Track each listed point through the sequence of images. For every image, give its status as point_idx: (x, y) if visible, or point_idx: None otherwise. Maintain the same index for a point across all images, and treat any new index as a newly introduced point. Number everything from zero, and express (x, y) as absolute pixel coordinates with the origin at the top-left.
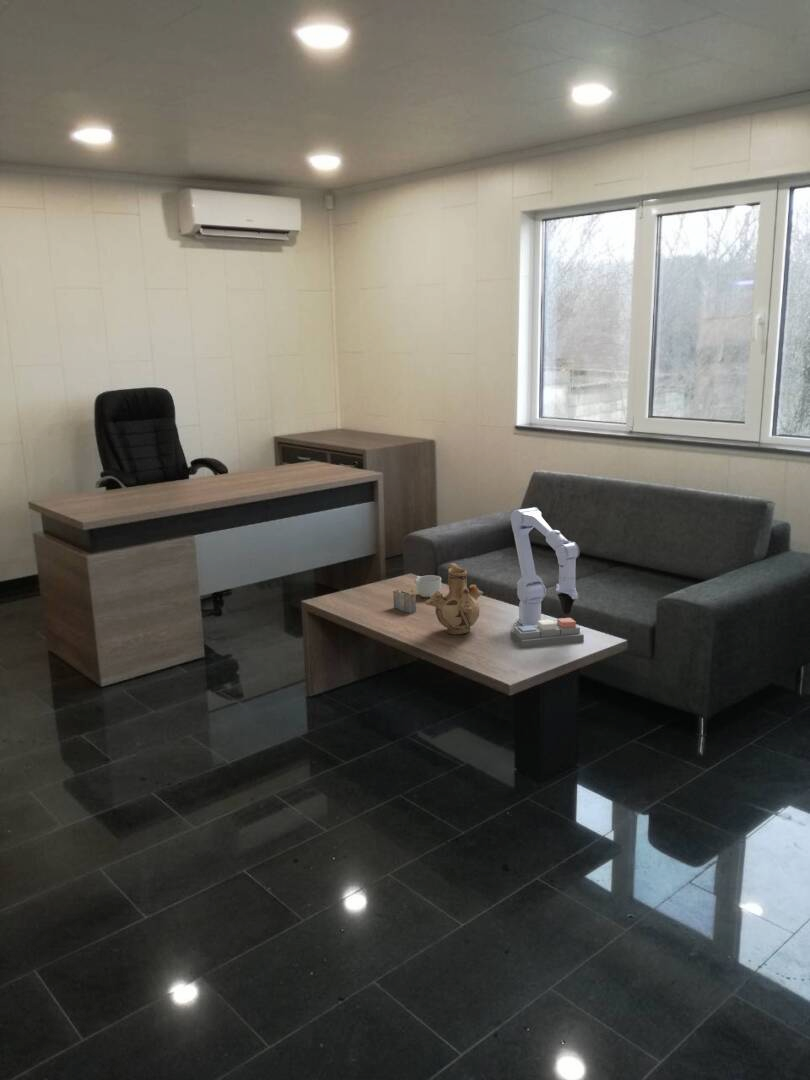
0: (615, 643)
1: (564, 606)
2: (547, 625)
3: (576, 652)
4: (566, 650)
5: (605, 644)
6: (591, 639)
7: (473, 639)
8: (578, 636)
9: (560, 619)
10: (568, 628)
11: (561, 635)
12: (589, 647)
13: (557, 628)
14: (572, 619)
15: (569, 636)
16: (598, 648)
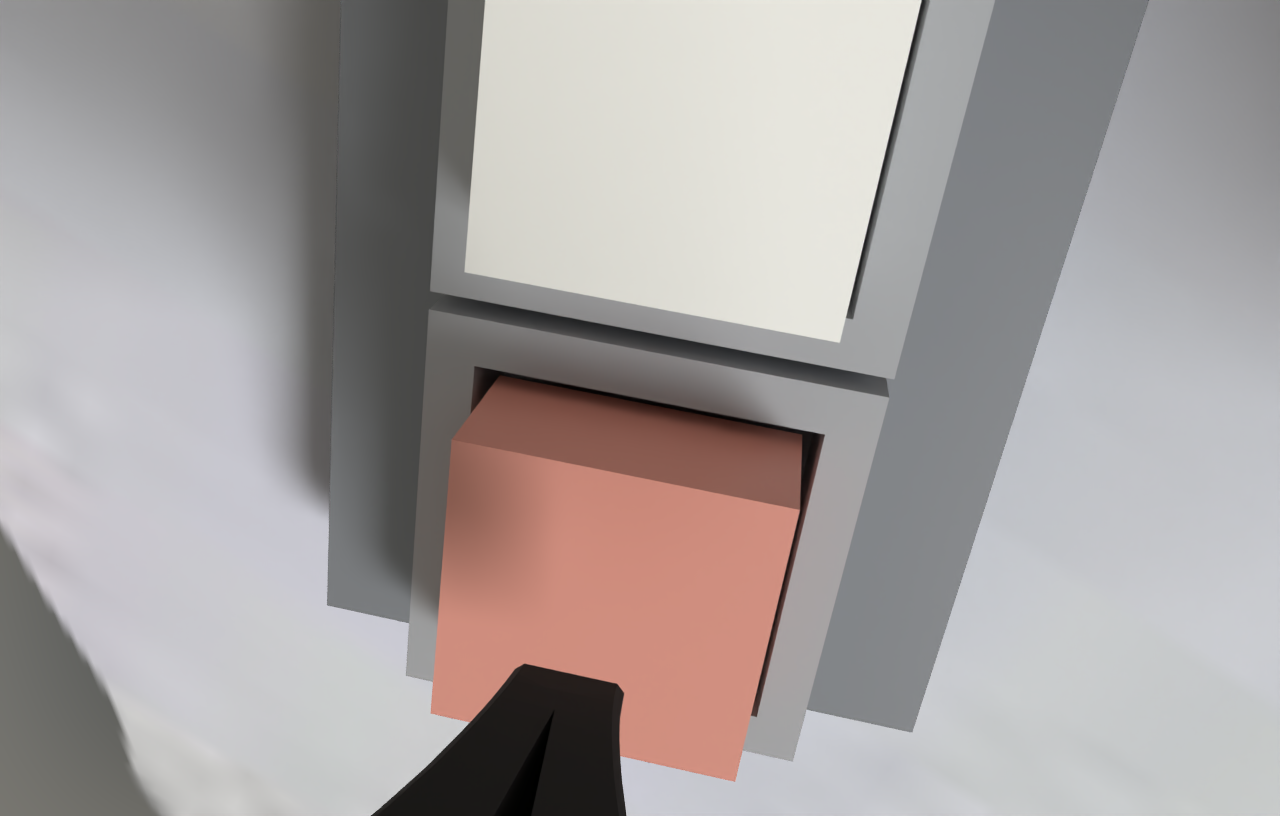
0: (185, 813)
1: (387, 807)
2: (496, 8)
3: None
4: (58, 61)
5: (180, 703)
6: (426, 684)
7: None
8: (338, 513)
9: (710, 541)
10: (431, 475)
11: (424, 258)
12: (116, 463)
13: None
14: None
15: (335, 362)
16: (51, 540)
